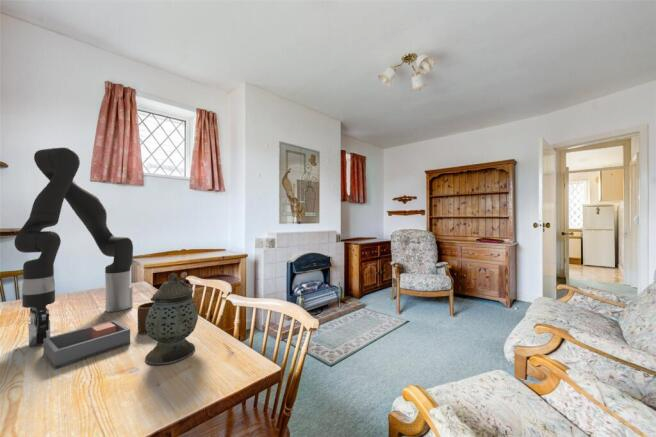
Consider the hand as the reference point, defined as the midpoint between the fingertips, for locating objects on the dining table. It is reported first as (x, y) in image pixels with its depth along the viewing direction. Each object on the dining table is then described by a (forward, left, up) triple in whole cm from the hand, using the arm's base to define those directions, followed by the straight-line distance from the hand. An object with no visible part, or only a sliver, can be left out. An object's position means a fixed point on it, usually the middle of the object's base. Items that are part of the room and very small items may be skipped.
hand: (39, 340), depth 91 cm
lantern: (-22, +44, -1) cm, 49 cm away
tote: (-8, +19, -1) cm, 21 cm away
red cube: (-12, +19, 0) cm, 22 cm away
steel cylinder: (0, 0, -1) cm, 1 cm away
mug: (-26, +21, -1) cm, 33 cm away
